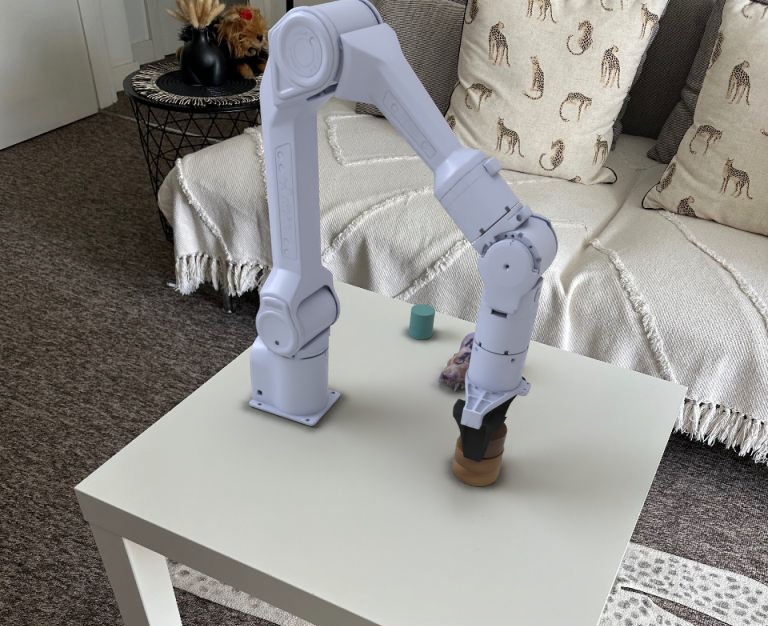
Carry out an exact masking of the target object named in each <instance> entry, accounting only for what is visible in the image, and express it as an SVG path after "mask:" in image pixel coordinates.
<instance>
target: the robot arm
mask: <svg viewBox="0 0 768 626" xmlns="http://www.w3.org/2000/svg"><path fill="white" fill-rule="evenodd" d="M267 40H268V59H267V61H266V64H265V68H264V71H263V75H262V78H261V81H260V84H259V105H260V117H261V130H262V142H263V145H262V146H263V156H264V157H263V158H264V167H265V168H264V169H265V170H264V171H265V182H266V194H267V207H268V220H269V233H270V245H271V257H272V268H271V271H270V272H269V274H268V276H267V278H266V280H265V281H264V284H263V285H262V287H261V288H260V291H259V308H258V311H257V313H256V317H255V327H256V332H257V336H256V338H255V340H254V341H253V343H252V346H251V349H250V354H249V370H250V371H249V373H250V384H251V385H250V387H251V397H252V398H251V399H250V401H249V402H248V403H249V406H250V407H253V408H255V409H258V410H260V411H264V412H267V413H270V414H273V415H276V416H280V417H282V418H284V419H288V420H291V421H294V422H297V423H300V424H304V425H306V426H309V427H314V426H315V425H316V424H317V423H318V422H319V421H320V420H321V419H322V417H324V415H325V414H326V413H327V412H328V411H329V410H330V409H331V408H332V406H333V405H334V404H335V403H336V402H337V401H338V400H339V399H340V398H341V393H340V392H339V391H335V390H333V389H330V388H329V359H330V358H329V352H330V351H329V349H330V348H329V347H330V336H331V327H332V326H334V324H336V323H337V321H338V320H339V318H340V315H341V303H340V299H339V297H338V294H337V292H336V289H335V286H334V274H333V272H332V271H331V270H330V269H328V268H327V267H326V266H325V265H323V263H322V242H321V241H322V237H321V206H320V205H321V204H320V175H319V173H320V172H319V144H318V143H319V139H318V116H317V115H318V112H319V110H320V109H321V108H322V107H323V106H324V105H325V104H326V103H327V102H328V101H329V100H330V99H332V97H334V98H336V99H339V100H344V101H351V102H358V103H362V104H369V105H374V106H375V107H376V108H377V109H378V111H379V112H380V113H381V114H382V115H383V116H384V117H385V119H386V120H387V121H388V122H389V123H390V125H391V126H392V127H393V128H394V129H395V130H396V131H397V133H398V134H399V135H400V136H401V137H402V138H403V140H405V142H406V143H407V144H408V145H409V147H410V148H411V149H412V150H413V151H414V153H415V154H416V155H417V156H418V157H419V159H421V160H422V162H423V163H424V164H425V165H426V167H427V168H428V169H429V170H430V172H432V175H433V196H434V198H435V199H436V200H437V201H438V203H439V204H440V206H441V207H442V208H443V210H444V211H445V212H446V213H447V215H448V216H449V217H450V219H451V220H452V221H453V223H454V224H455V225H456V227H457V228H458V229H459V230H460V232H461V233H462V235H463V236H464V237H465V239H466V240H467V241H468V242H469V244H470V245H471V247H473V249H474V250H475V251H476V252H477V254H478V255H479V256H478V257H477V270H478V274H479V276H480V279H481V281H482V282H483V288H482V294H481V296H480V302H479V308H478V314H477V319H476V324H475V330H474V332H475V336H474V341H473V346H472V352H471V358H470V364H469V368H468V370H467V372H466V376H465V388H464V394H465V395H464V396H465V399H461V398H458V399H457V400H456V402H455V403H454V405H453V407H452V417H453V419H454V421H455V422H456V425H457V427H458V429H459V433H460V434H461V442H462V451H463V457H464V458H467V459H470V460H473V461H476V462H480V461H481V460H482V458H483V456H484V455H485V453H486V450H487V448H488V446H489V443H490V441H491V438H492V436H493V435H494V434H495V433H496V432H497V431H498V430H499V429H500V428H501V426H502V425H503V423H505V422H506V420H507V418H508V416H506V415H507V413H508V410H509V409H510V406H511V404H512V403H513V402H514V400H515V399H516V397H517V396H521V397H527V396H528V394H529V393H530V391H531V388H532V383H531V382H530V381H528V380H527V379H526V378H525V376H523V373H524V370H525V365H526V360H527V356H528V353H529V348H530V343H531V339H532V334H533V331H534V327H535V323H536V318H537V315H538V314H537V313H538V309H539V305H540V303H539V302H540V297H541V293H542V289H543V288H542V287H543V284H544V280H545V279H544V276H542V275H543V274H544V273H545V272H546V271H547V270H548V269H549V268H550V267H551V265H552V264H553V262H554V261H555V259H556V256H557V254H558V249H559V241H558V236H557V233H556V231H555V228H554V227H553V225H552V221H551V220H550V219H549V218H547V217H546V216H544V215H543V214H540V213H537V212H534V211H533V210H532V209H531V207H530V206H529V204H523V203H522V202H521V200H520V199H519V197H518V196H517V195H516V193H515V192H514V191H513V189H512V188H511V187H510V185H509V184H508V182H507V181H506V180H505V178H504V177H503V176H502V175H501V173H500V171H502V169H503V166H502V164H501V163H500V161H499V160H498V158H497V157H496V156H491V157H490V158H489V157H488V156H487V154H486V153H485V151H484V150H482V149H477V148H470V147H466V146H463V144H462V143H461V142H460V140H459V138H458V137H457V135H456V134H455V132H454V130H453V129H452V128H451V127H450V125H449V123H448V121H447V120H446V118H445V117H444V115H443V114H442V112H441V110H440V109H439V107H438V106H437V105H436V103H435V101H434V100H433V98H432V97H431V95H430V93H429V92H428V91H427V89H426V88H425V86H424V85H423V83H422V82H421V80H420V79H419V77H418V75H417V74H416V72H415V71H414V70H413V68H412V65H410V63H409V62H408V60H407V59H406V57H405V55H404V53H403V50H402V48H401V44H400V41H399V39H398V35H397V33H396V31H395V30H394V29H393V28H392V27H391V26H390V25H389V24H388V23H387V22H384V21H383V18H382V16H381V14H380V12H379V10H378V9H377V7H376V6H375V5H374V4H373V3H372V2H370V1H369V0H334V1H330V2H325V3H319V4H315V5H310V6H308V5H301V6H297V7H293V8H291V9H290V10H288V11H287V12H286V13H285V14H284V15H283V16H282V17H281V18H280V19H279V20H278V21H277V22H276V23H275V24H274V25H273V26H272V27H271V28H270V29H269V30H268V32H267ZM460 434H459V435H460Z"/></svg>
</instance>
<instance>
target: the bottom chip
mask: <svg viewBox="0 0 768 626" xmlns="http://www.w3.org/2000/svg"><path fill="white" fill-rule="evenodd" d="M500 469H501V465H500V466H499V467H498V469H496V470H495V471H492V472H489V473H474V472H470V471H467V470H465V469H464V468H462V467H461V466H459V465H458V463H457V462H456V460H455V457H454V456H453V459H452V466H451V471H452V475H453V476H454V477H455V478H456V479H457V481H459V482H461V483H463V484H465V485H468V486H470V487H471V486H473V487H485V486H489V485H491V484H493V483H495V482H496V481H497V479H498V477H499V474H500Z"/></svg>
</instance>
